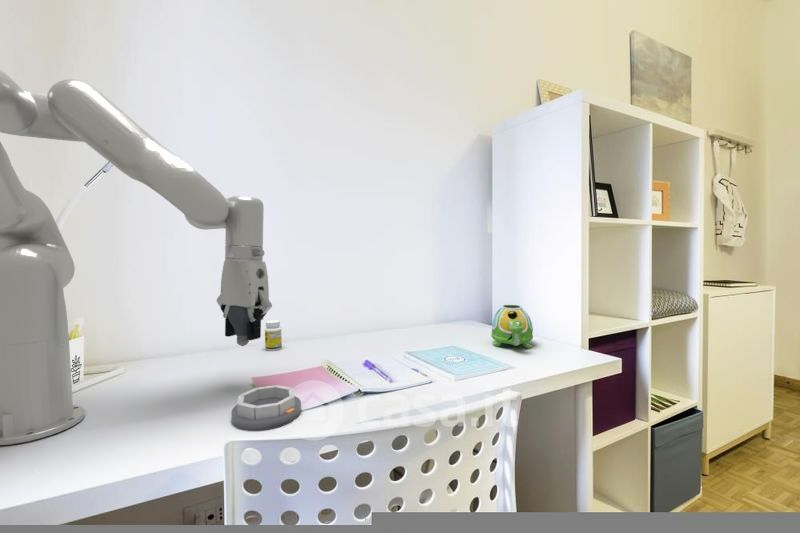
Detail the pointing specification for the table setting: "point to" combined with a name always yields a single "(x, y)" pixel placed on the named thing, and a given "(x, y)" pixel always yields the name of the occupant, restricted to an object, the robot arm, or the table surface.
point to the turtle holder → (512, 326)
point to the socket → (266, 408)
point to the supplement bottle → (273, 335)
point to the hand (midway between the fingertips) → (242, 336)
